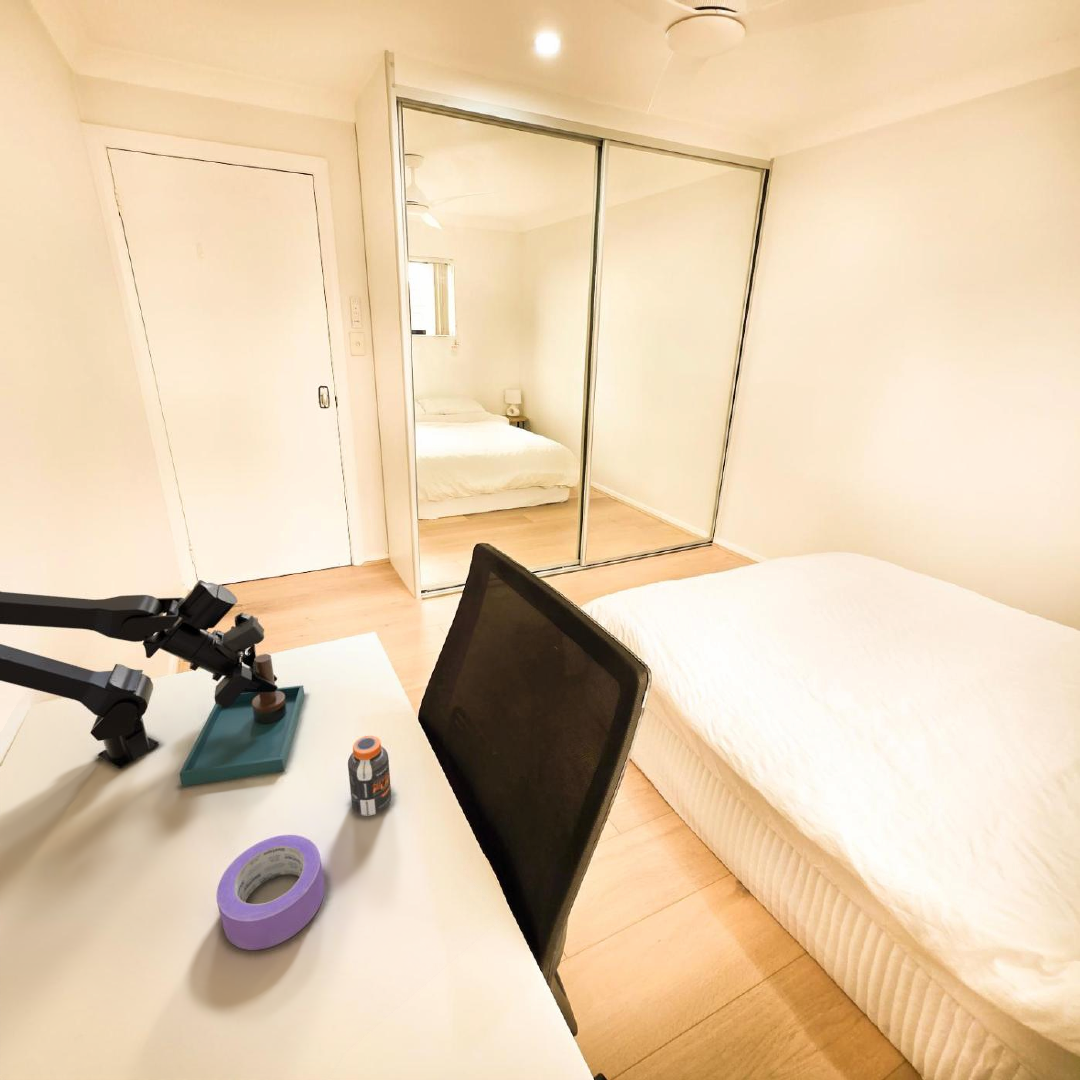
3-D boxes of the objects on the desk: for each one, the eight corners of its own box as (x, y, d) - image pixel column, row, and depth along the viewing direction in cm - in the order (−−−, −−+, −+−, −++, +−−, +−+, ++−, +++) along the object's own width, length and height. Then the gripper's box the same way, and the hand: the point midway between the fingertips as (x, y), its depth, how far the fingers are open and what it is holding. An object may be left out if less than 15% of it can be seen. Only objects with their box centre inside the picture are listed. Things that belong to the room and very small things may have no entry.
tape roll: (212, 897, 68) (205, 869, 67) (305, 845, 76) (301, 818, 74) (238, 973, 60) (231, 943, 59) (339, 906, 68) (335, 878, 66)
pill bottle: (380, 820, 80) (374, 760, 76) (344, 813, 81) (337, 754, 78) (398, 790, 86) (393, 733, 82) (364, 784, 87) (358, 727, 83)
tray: (284, 771, 89) (282, 759, 88) (182, 786, 85) (178, 773, 84) (304, 695, 108) (303, 685, 107) (222, 705, 105) (219, 694, 104)
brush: (260, 728, 98) (251, 670, 94) (249, 713, 101) (240, 657, 97) (291, 715, 102) (284, 658, 97) (280, 701, 105) (272, 646, 101)
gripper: (226, 635, 84) (308, 678, 93) (231, 589, 100) (302, 630, 108) (177, 689, 84) (265, 727, 92) (190, 634, 99) (264, 671, 108)
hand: (276, 685), depth 100 cm, fingers closed on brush, 3 cm apart
